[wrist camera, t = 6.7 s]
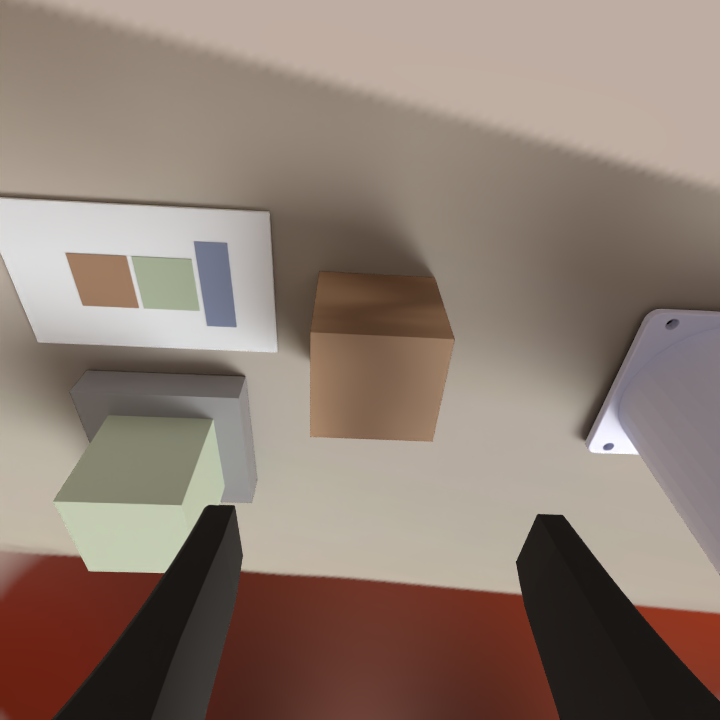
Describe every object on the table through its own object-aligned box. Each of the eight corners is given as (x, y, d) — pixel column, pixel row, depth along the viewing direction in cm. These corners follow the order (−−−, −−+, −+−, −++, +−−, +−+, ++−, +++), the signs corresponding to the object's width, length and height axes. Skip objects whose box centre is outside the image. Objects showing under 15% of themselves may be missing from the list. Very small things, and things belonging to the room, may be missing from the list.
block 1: (213, 419, 20) (181, 505, 17) (224, 486, 23) (199, 573, 19) (108, 415, 20) (52, 501, 16) (132, 483, 23) (89, 571, 19)
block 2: (434, 276, 18) (454, 339, 14) (418, 368, 21) (432, 441, 17) (319, 270, 18) (310, 332, 14) (318, 364, 21) (310, 436, 17)
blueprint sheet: (269, 211, 16) (268, 213, 16) (277, 350, 20) (277, 352, 20) (-20, 196, 16) (-24, 197, 16) (40, 340, 20) (37, 343, 19)
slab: (245, 376, 21) (238, 398, 20) (257, 479, 25) (252, 503, 24) (86, 370, 20) (69, 391, 19) (124, 475, 25) (112, 498, 23)
